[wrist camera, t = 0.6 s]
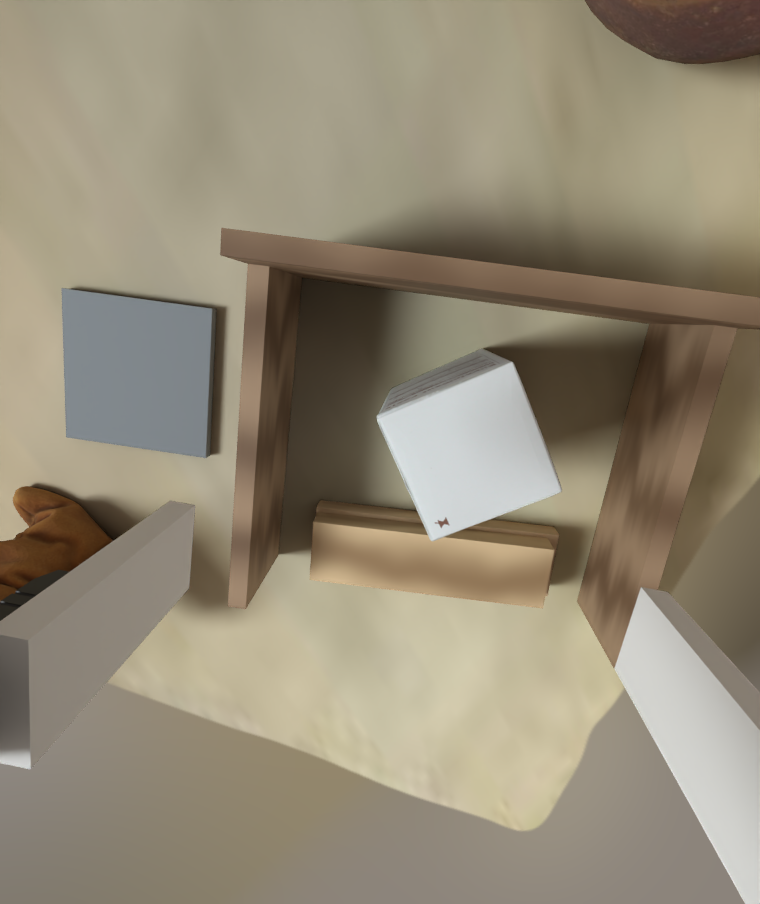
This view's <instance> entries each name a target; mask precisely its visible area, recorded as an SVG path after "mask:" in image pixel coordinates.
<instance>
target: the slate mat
mask: <svg viewBox="0 0 760 904" xmlns="http://www.w3.org/2000/svg"><path fill="white" fill-rule="evenodd" d="M62 316H63V348H64V379H65V411H66V437H68V438H75V439H82V440H88V441H95V442H102V443H109V444H115V445H122V446H129V447H135V448H142V449H149V450H156V451H162V452H169V453H176V454H182V455H189V456H196V457H203V458H207V457H208V456H210V444H211V422H212V399H213V377H214V354H215V332H216V309H213V308H205V307H198V306H191V305H183V304H176V303H169V302H161V301H154V300H147V299H139V298H132V297H125V296H117V295H110V294H103V293H95V292H88V291H81V290H73V289H64V288H62Z"/></svg>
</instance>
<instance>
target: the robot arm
mask: <svg viewBox="0 0 760 904" xmlns="http://www.w3.org/2000/svg"><path fill="white" fill-rule="evenodd" d="M194 517H195V505H191V504H186V503H180V502H175V501H169V502H168V503H166V504H165V505H163V506H162V507H160V508H159V509H158V510H156V511H155V512H153V513H152V514H151V515H149V516H148V517H146V518H145V519H144V520H142V521H141V522H139V523H138V524H136V525H135V526H134V527H132V528H131V529H129V530H128V531H127V532H125V533H124V534H122V535H121V536H120V537H118V538H117V539H115V540H114V541H113V542H111V543H110V544H108V545H107V546H105V547H104V548H103V549H101V550H100V551H98V552H97V553H96V554H94V555H93V556H91V557H90V558H89V559H87V560H86V561H84V562H83V563H81V564H80V565H79V566H77V567H76V568H74V569H73V570H72V571H70V572H68V571H63V570H56V571H54V572H51V573H48V574H46V575H43V576H40V577H37V578H35V579H33V580H31V581H30V582H28V583H27V584H25V585H24V586H22V587H21V588H19V589H18V590H16V592H15V594H13V593H12V594H10V595H9V596H7V597H6V598H4V599H3V600H1V601H0V763H3V764H7V765H12V766H18V767H22V768H27V769H31V768H32V767H33V766H34V765H35V764H36V763H37V762H38V760H39V759H40V758H41V757H42V756H43V755H44V754H45V752H46V751H47V750H48V749H49V748H50V747H51V745H52V744H53V743H54V742H55V741H56V740H57V739H58V737H59V736H60V735H61V734H62V733H63V732H64V731H65V729H66V728H67V727H68V726H69V725H70V724H71V723H72V721H73V720H74V719H75V718H76V717H77V716H78V715H79V713H80V712H81V711H82V710H83V709H84V708H85V707H86V705H87V704H88V703H89V702H90V701H91V699H93V697H94V696H95V695H96V694H97V693H98V692H99V691H100V689H101V688H102V687H103V686H104V685H105V684H106V683H107V681H108V680H109V679H110V678H111V677H112V676H113V675H114V673H115V672H116V671H117V670H118V669H119V668H120V667H121V665H122V664H123V663H124V662H125V661H126V660H127V659H128V657H129V656H130V655H131V654H132V653H133V652H134V651H135V649H136V648H137V647H138V646H139V645H140V644H141V643H142V641H143V640H144V639H145V638H146V637H147V636H148V635H149V633H150V632H151V631H152V630H153V629H154V628H155V627H156V625H157V624H158V623H159V622H160V621H161V620H162V619H163V617H164V616H165V615H166V614H167V613H168V612H169V611H170V609H171V608H172V607H173V606H174V605H175V604H176V603H177V601H178V600H179V599H180V598H181V597H182V596H183V595H184V593H185V592H186V591H187V590H188V589H189V585H190V571H191V558H192V544H193V530H194ZM614 669H615V671H616V672H617V674H618V676H619V678H620V680H621V681H622V683H623V685H624V687H625V689H626V690H627V692H628V694H629V696H630V697H631V699H632V701H633V703H634V705H635V707H636V708H637V710H638V712H639V714H640V716H641V717H642V719H643V721H644V723H645V724H646V726H647V728H648V730H649V732H650V733H651V735H652V737H653V739H654V740H655V742H656V744H657V746H658V748H659V750H660V752H661V753H662V755H663V757H664V759H665V761H666V762H667V764H668V766H669V768H670V769H671V771H672V773H673V775H674V777H675V778H676V780H677V782H678V784H679V786H680V787H681V789H682V791H683V793H684V795H685V796H686V798H687V800H688V802H689V804H690V805H691V807H692V809H693V811H694V813H695V814H696V816H697V818H698V820H699V822H700V823H701V825H702V827H703V829H704V831H705V832H706V834H707V836H708V838H709V839H710V841H711V843H712V845H713V847H714V849H715V850H716V852H717V854H718V856H719V857H720V859H721V861H722V863H723V865H724V867H725V868H726V870H727V872H728V874H729V876H730V877H731V879H732V881H733V883H734V884H735V886H736V888H737V890H738V892H739V894H740V895H741V897H742V899H743V900H744V902H745V904H760V692H759V691H758V690H757V689H756V688H755V687H754V686H753V685H752V684H751V682H750V681H749V680H748V679H747V678H746V677H745V676H744V675H743V674H742V673H741V671H740V670H739V669H738V668H737V667H736V666H735V665H734V664H733V663H732V662H731V661H730V659H729V658H728V657H727V656H726V655H725V654H724V653H723V652H722V651H721V650H720V648H718V646H717V645H716V644H715V643H714V642H713V641H712V640H711V639H710V638H709V636H708V635H707V634H706V633H705V632H704V631H703V630H702V629H701V628H700V627H699V626H698V624H697V623H696V622H695V621H694V620H693V619H692V618H691V617H690V616H689V615H688V613H687V612H686V611H685V610H684V609H683V608H682V607H681V606H680V605H679V604H678V603H677V601H676V600H675V599H674V598H673V597H672V596H671V595H670V594H669V593H668V592H666V591H660V590H655V589H649V588H644V587H641V589H640V592H639V595H638V598H637V601H636V604H635V607H634V610H633V613H632V616H631V619H630V622H629V625H628V628H627V631H626V634H625V638H624V641H623V644H622V647H621V650H620V653H619V656H618V659H617V662H616V665H615V668H614Z"/></svg>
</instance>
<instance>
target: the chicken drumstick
mask: <svg viewBox="0 0 760 904" xmlns="http://www.w3.org/2000/svg"><path fill="white" fill-rule="evenodd" d="M585 2H586V3H587V5H588V6H589V8H590V10H591V11H592V12H593V14H594V15H595V16H596V17H597V18H598V19H599V20H600V21H601V22H602V23H603V24H604V26H605V27H606V28H607V29H609V30H610V31H611V32H613V33H614V34H616V35H617V36H618V37H620V38H621V39H622V40H624V41H626V42H627V43H629V44H631V45H632V46H634V47H636V48H638V49H640V50H642V51H643V52H645V53H647V54H649V55H651V56H653V57H655V58H657V59H663V60H668V61H673V62H679V63H684V64H706V63H715V62H725V61H730V60H735V59H740V58H744V57H748V56H753V55H757V54H760V0H585Z"/></svg>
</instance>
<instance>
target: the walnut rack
mask: <svg viewBox="0 0 760 904" xmlns="http://www.w3.org/2000/svg"><path fill="white" fill-rule="evenodd" d="M220 255H222V256H225V257H228V258H232V259H235V260H238V261H241V262H244V263H247V264H248V271H247V288H246V305H245V322H244V340H243V357H242V374H241V391H240V408H239V425H238V442H237V459H236V476H235V493H234V510H233V527H232V544H231V561H230V578H229V595H228V606H230V607H236V608H243V609H246V608H247V606H248V604H249V603H250V601H251V599H252V598H253V596H254V594H255V593H256V591H257V589H258V588H259V586H260V584H261V583H262V581H263V580H264V578H265V576H266V575H267V573H268V571H269V570H270V568H271V566H272V565H273V563H274V561H275V560H276V558H277V556H278V554H279V543H280V531H281V519H282V508H283V496H284V484H285V473H286V461H287V449H288V437H289V426H290V414H291V402H292V391H293V379H294V367H295V356H296V344H297V332H298V320H299V309H300V297H301V285H302V278H308V279H316V280H323V281H331V282H338V283H346V284H354V285H361V286H369V287H376V288H384V289H391V290H399V291H406V292H414V293H421V294H429V295H436V296H444V297H452V298H459V299H467V300H474V301H482V302H489V303H497V304H504V305H512V306H519V307H527V308H534V309H542V310H550V311H557V312H565V313H572V314H580V315H587V316H595V317H602V318H610V319H617V320H625V321H632V322H640V323H648V324H649V327H648V331H647V335H646V338H645V342H644V346H643V350H642V354H641V358H640V362H639V365H638V369H637V373H636V377H635V381H634V385H633V388H632V392H631V396H630V400H629V404H628V408H627V412H626V415H625V419H624V423H623V427H622V431H621V435H620V438H619V442H618V446H617V450H616V454H615V458H614V462H613V465H612V469H611V473H610V477H609V481H608V485H607V488H606V492H605V496H604V500H603V504H602V508H601V512H600V515H599V519H598V523H597V527H596V531H595V535H594V538H593V542H592V546H591V550H590V554H589V558H588V562H587V565H586V569H585V573H584V577H583V581H582V585H581V588H580V592H579V596H578V600H577V602H578V604H579V606H580V608H581V609H582V611H583V613H584V615H585V617H586V618H587V620H588V622H589V624H590V626H591V628H592V629H593V631H594V633H595V635H596V637H597V638H598V640H599V642H600V644H601V646H602V648H603V649H604V651H605V653H606V655H607V657H608V658H609V660H610V662H611V664H612V666H613V668H615V665H616V662H617V659H618V656H619V653H620V650H621V647H622V644H623V641H624V638H625V634H626V631H627V628H628V625H629V622H630V619H631V616H632V613H633V610H634V607H635V604H636V601H637V598H638V595H639V592H640V589H641V587H644V588H649V589H655V590H658V588H659V584H660V581H661V578H662V575H663V571H664V568H665V565H666V561H667V558H668V555H669V552H670V548H671V545H672V542H673V538H674V535H675V532H676V529H677V525H678V522H679V519H680V515H681V512H682V509H683V506H684V502H685V499H686V496H687V492H688V489H689V486H690V483H691V479H692V476H693V473H694V469H695V466H696V463H697V460H698V456H699V453H700V450H701V446H702V443H703V440H704V437H705V433H706V430H707V427H708V423H709V420H710V417H711V414H712V410H713V407H714V404H715V401H716V397H717V394H718V391H719V387H720V384H721V381H722V378H723V374H724V371H725V368H726V364H727V361H728V358H729V355H730V351H731V348H732V345H733V341H734V338H735V335H736V332H737V328H743V329H760V297H752V296H745V295H737V294H729V293H721V292H714V291H706V290H698V289H690V288H683V287H675V286H667V285H660V284H652V283H644V282H636V281H629V280H621V279H613V278H605V277H598V276H590V275H582V274H574V273H567V272H559V271H551V270H544V269H536V268H528V267H520V266H513V265H505V264H497V263H489V262H482V261H474V260H466V259H459V258H451V257H443V256H435V255H428V254H420V253H412V252H404V251H397V250H389V249H381V248H373V247H366V246H358V245H350V244H343V243H335V242H327V241H319V240H312V239H304V238H296V237H288V236H281V235H273V234H265V233H258V232H250V231H242V230H234V229H227V228H222V230H221V252H220Z"/></svg>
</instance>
